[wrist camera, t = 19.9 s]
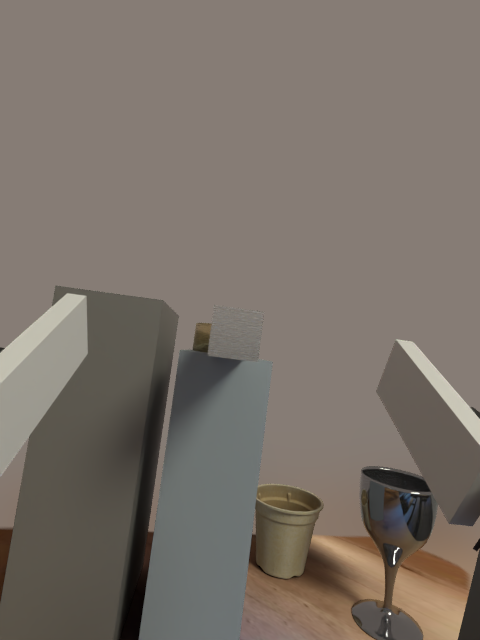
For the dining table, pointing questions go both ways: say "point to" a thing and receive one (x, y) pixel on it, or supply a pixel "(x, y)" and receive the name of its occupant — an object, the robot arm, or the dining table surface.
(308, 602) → the dining table surface
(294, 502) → the flower pot
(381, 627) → the wine glass
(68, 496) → the tall stand
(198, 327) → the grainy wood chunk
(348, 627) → the dining table surface
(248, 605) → the dining table surface
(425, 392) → the robot arm
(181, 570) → the short stand
